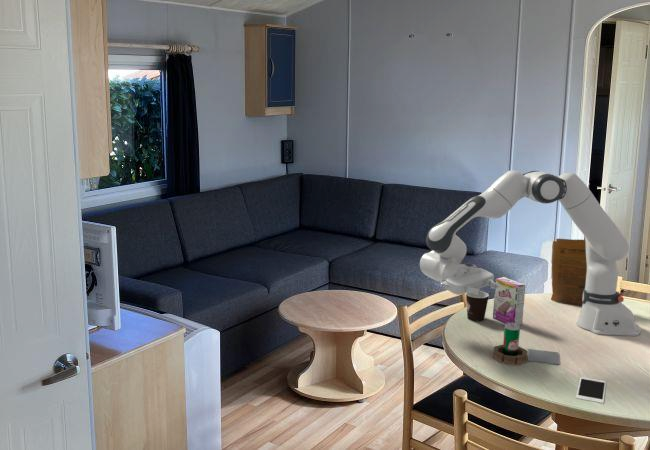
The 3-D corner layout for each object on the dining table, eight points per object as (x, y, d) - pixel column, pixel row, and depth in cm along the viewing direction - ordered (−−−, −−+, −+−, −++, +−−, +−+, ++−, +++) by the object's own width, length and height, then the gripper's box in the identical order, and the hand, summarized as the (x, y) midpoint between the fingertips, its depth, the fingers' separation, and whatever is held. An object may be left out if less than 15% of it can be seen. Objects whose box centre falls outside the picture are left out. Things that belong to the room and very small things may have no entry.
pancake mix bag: (595, 309, 294) (602, 242, 287) (546, 302, 301) (552, 237, 294) (595, 304, 300) (602, 238, 293) (548, 297, 307) (554, 233, 300)
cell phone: (575, 399, 217) (575, 397, 217) (580, 378, 232) (580, 376, 231) (603, 404, 214) (603, 402, 214) (606, 382, 229) (606, 381, 228)
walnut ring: (526, 353, 249) (527, 346, 248) (526, 366, 239) (527, 359, 238) (494, 349, 252) (494, 343, 251) (492, 362, 242) (492, 355, 241)
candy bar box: (491, 318, 282) (494, 278, 278) (500, 316, 284) (503, 276, 281) (513, 327, 273) (517, 286, 269) (522, 324, 275) (526, 284, 272)
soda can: (508, 362, 242) (511, 328, 239) (499, 356, 247) (501, 323, 244) (520, 359, 244) (523, 326, 241) (511, 354, 248) (513, 321, 246)
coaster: (558, 353, 250) (558, 352, 249) (559, 365, 240) (559, 364, 240) (528, 349, 252) (528, 348, 252) (528, 361, 243) (528, 360, 243)
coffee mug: (487, 323, 276) (489, 298, 274) (464, 321, 278) (465, 296, 276) (486, 313, 287) (488, 289, 285) (464, 311, 289) (466, 287, 287)
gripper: (438, 273, 251) (469, 287, 242) (475, 262, 264) (506, 275, 254) (436, 290, 253) (467, 304, 243) (473, 278, 266) (504, 291, 256)
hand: (487, 289), depth 249 cm, fingers open, 8 cm apart
